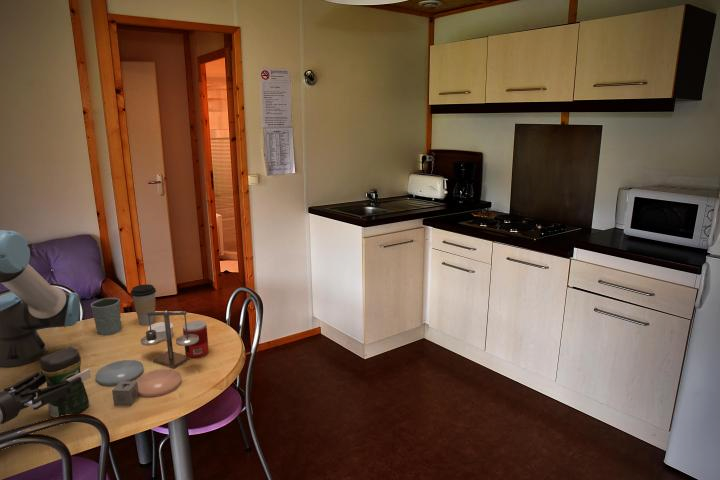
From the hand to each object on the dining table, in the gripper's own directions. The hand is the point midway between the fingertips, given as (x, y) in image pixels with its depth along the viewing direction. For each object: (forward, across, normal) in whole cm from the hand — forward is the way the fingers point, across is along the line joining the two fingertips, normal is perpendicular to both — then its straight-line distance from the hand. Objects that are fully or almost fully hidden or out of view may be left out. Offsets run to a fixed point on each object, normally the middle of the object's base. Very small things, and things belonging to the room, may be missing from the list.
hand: (79, 369), depth 142 cm
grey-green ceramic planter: (+36, -37, -11) cm, 53 cm away
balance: (+29, +4, -10) cm, 31 cm away
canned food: (+37, +8, -11) cm, 40 cm away
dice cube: (+6, +11, -11) cm, 16 cm away
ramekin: (+41, -14, -11) cm, 45 cm away
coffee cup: (+48, -30, -11) cm, 58 cm away
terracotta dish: (+16, +12, -10) cm, 23 cm away
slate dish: (+15, -4, -10) cm, 19 cm away
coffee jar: (-5, 0, -11) cm, 12 cm away
